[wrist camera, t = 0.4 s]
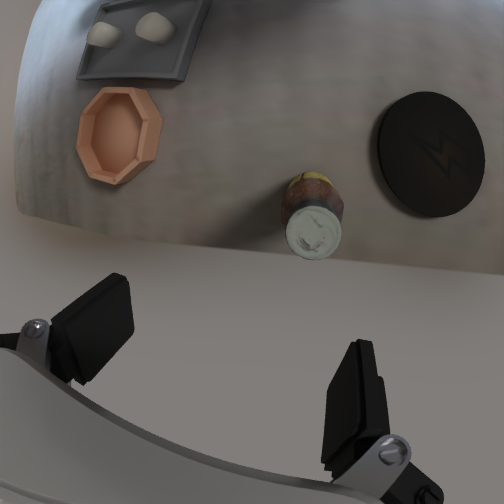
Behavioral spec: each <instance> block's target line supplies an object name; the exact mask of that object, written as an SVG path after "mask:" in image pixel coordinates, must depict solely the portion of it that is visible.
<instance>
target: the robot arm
mask: <svg viewBox="0 0 504 504" xmlns="http://www.w3.org/2000/svg"><path fill="white" fill-rule="evenodd" d="M51 322H52V325H50V326H49V324H48V322H47V321H46V320H43V319H33V320H30V321H28V322H27V323H25V325H24V326H23V327H22V329H21V332H20V333H10V334H0V504H443V501H444V494H443V491H442V489H441V488H440V487H439V486H438V485H437V484H436V483H435V482H433V481H432V480H431V479H430V478H429V477H427V476H426V475H425V474H424V473H422V472H421V471H420V470H419V469H418V468H417V467H416V466H414V465H413V464H412V463H411V462H410V459H411V448H410V446H409V444H408V442H407V441H406V440H405V439H404V438H402V437H400V436H398V435H394V434H392V435H390V427H389V417H388V408H387V401H386V393H385V386H384V381H383V378H382V377H381V376H378V374H377V367H376V361H375V355H374V349H373V344H372V342H371V341H367V340H362V339H358V340H357V341H356V342H351V343H350V346H349V348H348V350H347V352H346V354H345V356H344V358H343V360H342V362H341V364H340V366H339V368H338V370H337V371H336V373H335V375H334V377H333V379H332V381H331V383H330V384H329V387H328V390H327V399H326V415H325V426H324V438H323V446H322V456H321V463H323V464H325V468H324V470H325V471H332V478H333V479H332V480H331V481H330V482H329V483H328V482H323V481H315V480H310V479H304V478H298V477H292V476H286V475H281V474H276V473H271V472H267V471H262V470H258V469H254V468H250V467H245V466H241V465H238V464H234V463H230V462H227V461H224V460H221V459H217V458H214V457H211V456H208V455H205V454H202V453H199V452H197V451H194V450H191V449H188V448H186V447H183V446H181V445H178V444H175V443H173V442H171V441H168V440H166V439H164V438H161V437H159V436H157V435H155V434H152V433H150V432H148V431H146V430H144V429H142V428H140V427H138V426H136V425H134V424H132V423H130V422H128V421H126V420H124V419H122V418H121V417H119V416H117V415H115V414H113V413H111V412H110V411H108V410H106V409H104V408H103V407H101V406H100V405H98V404H96V403H94V402H93V401H91V400H90V399H88V398H87V397H85V396H84V395H82V394H81V393H79V392H78V391H76V390H74V389H73V388H72V387H71V380H72V379H73V378H74V379H75V381H77V382H78V383H80V384H81V385H83V386H84V385H85V384H86V382H87V381H88V382H89V381H91V380H92V379H93V378H94V377H95V376H96V375H97V373H98V372H99V371H100V370H101V369H102V368H103V367H104V366H105V365H106V363H107V362H108V361H109V360H110V359H111V358H112V357H113V356H114V355H115V353H116V352H117V351H118V350H119V349H120V348H121V347H122V345H124V343H125V342H126V341H127V340H128V339H129V338H130V337H131V336H132V335H133V333H134V321H133V313H132V306H131V296H130V287H129V282H128V281H127V278H126V277H125V276H123V275H120V274H118V273H112V274H110V275H109V276H108V277H106V278H105V279H104V280H102V281H101V282H99V283H98V284H96V285H95V286H94V287H92V288H91V289H90V290H88V291H87V292H86V293H84V294H83V295H82V296H80V297H79V298H78V299H76V300H75V301H74V302H72V303H71V304H70V305H68V306H67V307H66V308H64V309H63V310H62V311H61V312H59V313H58V314H57V315H56V316H54V317H53V318H52V319H51Z"/></svg>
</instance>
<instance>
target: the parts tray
mask: <svg viewBox="0 0 504 504" xmlns="http://www.w3.org/2000/svg"><path fill="white" fill-rule="evenodd" d="M211 1H212V0H119V1H115V2H111V3H107V4H104V5H101V6H100V9H99V11H98V14H97V16H96V18H95V21H94V23H93V26H94V25H95V24H96V23H98V22H104V23H107V24H110V25H112V26H115V27H117V28H120V29H121V30H122V32H123V34H122V38H121V40H120V42H119V43H118V44H117V45H116V46H115V47H114V48H112V49H106V48H102V47H99V46H95V45H91V44H88V43H86V46H85V49H84V52H83V55H82V59H81V62H80V66H79V69H78V73H77V77H76V80H101V79H154V80H171V81H183V82H184V80H185V77H186V73H187V70H188V66H189V63H190V60H191V57H192V54H193V51H194V48H195V44H196V42H197V39H198V36H199V33H200V30H201V27H202V25H203V22H204V19H205V17H206V14H207V11H208V9H209V6H210V4H211ZM151 12H156V13H159V14H160V15H162V16H163V17H165V18H166V19H168V20H170V21H171V22H173V23H174V24H175V25H176V26H177V33H176V35H175V37H174V38H173V39H172V40H171V41H170V42H169V43H167V44H164V45H157V44H155V43H153V42H150V41H148V40H146V39H144V38H142V37H139V36H138V35H137V34H136V32H135V29H136V25H137V23H138V22H139V20H140V19H141V18H142V17H143V16H145V15H146V14H148V13H151ZM93 26H92V27H93Z"/></svg>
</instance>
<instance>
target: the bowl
mask: <svg viewBox="0 0 504 504" xmlns="http://www.w3.org/2000/svg"><path fill="white" fill-rule="evenodd" d="M162 123H163V119H162V117H161V115H160V113H159V111H158V110H157V108H156V106H155V104H154V102H153V101H152V99H151V97H150V95H149V93H148V92H147V90H143V89H138V88H133V87H103V88H102V89H101V90H100V92H99V93H98V94H97V95H96V96H95V97H94V98H93V99H92V101H91V102H90V103H89V104H88V105H87V106H86V108H85V109H84V110H83V111H82V112H81V118H80V124H79V130H78V137H77V145H76V149H77V151H78V154H79V156H80V158H81V161H82V163H83V165H84V167H85V169H86V172H87V174H88V176H89V177H90V178H93V179H97V180H100V181H104V182H107V183H110V184H114V185H116V184H120V183H124V182H127V181H130V180H131V179H132V178H134V177H135V176H136V175H137V174H138V173H140V172H141V171H142V170H143V169H144V168H146V167H147V166H148V165H149V164H150V163H152V162H153V161H154V160H155V158H156V153H157V147H158V142H159V137H160V133H161V128H162Z"/></svg>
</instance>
